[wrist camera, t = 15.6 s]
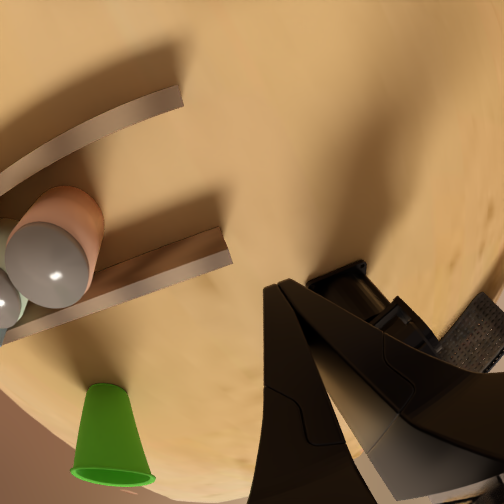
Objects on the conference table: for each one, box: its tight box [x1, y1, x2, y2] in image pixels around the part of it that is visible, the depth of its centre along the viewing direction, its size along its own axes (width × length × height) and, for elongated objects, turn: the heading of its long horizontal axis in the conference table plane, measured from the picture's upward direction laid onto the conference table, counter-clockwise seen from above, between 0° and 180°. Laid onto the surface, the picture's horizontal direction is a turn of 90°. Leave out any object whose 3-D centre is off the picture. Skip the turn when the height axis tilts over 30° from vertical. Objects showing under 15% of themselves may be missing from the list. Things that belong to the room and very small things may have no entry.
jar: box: [5, 186, 105, 308], centre depth 15 cm, size 6×6×5 cm
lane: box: [0, 85, 233, 345], centre depth 15 cm, size 27×11×4 cm, turn 103°
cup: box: [70, 383, 156, 487], centre depth 23 cm, size 9×9×11 cm
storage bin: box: [437, 292, 504, 373], centre depth 49 cm, size 29×19×13 cm
